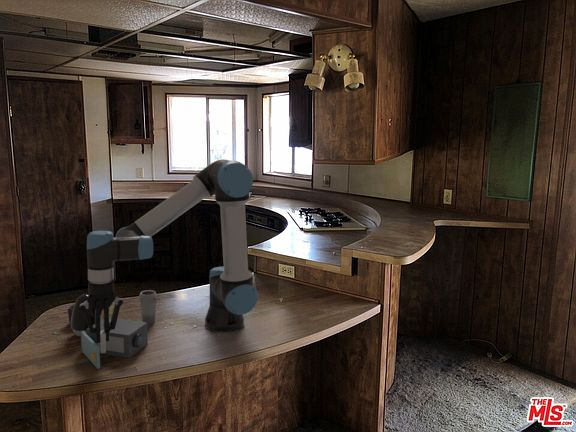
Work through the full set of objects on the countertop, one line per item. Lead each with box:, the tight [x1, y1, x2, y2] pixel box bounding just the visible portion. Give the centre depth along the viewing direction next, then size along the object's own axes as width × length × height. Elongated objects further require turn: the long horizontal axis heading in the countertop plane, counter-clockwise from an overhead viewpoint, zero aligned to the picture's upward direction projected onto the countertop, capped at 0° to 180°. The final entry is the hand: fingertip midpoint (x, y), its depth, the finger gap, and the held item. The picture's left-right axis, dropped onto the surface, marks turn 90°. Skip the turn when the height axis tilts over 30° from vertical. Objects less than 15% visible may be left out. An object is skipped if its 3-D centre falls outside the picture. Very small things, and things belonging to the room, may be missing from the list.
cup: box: [138, 289, 158, 325], centre depth 178 cm, size 7×7×12 cm
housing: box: [86, 316, 149, 359], centre depth 156 cm, size 18×11×9 cm, turn 76°
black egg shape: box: [70, 293, 102, 338], centre depth 165 cm, size 10×10×15 cm
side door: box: [80, 331, 101, 370], centre depth 146 cm, size 16×2×7 cm, turn 41°
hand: (102, 351), depth 146 cm, fingers closed
